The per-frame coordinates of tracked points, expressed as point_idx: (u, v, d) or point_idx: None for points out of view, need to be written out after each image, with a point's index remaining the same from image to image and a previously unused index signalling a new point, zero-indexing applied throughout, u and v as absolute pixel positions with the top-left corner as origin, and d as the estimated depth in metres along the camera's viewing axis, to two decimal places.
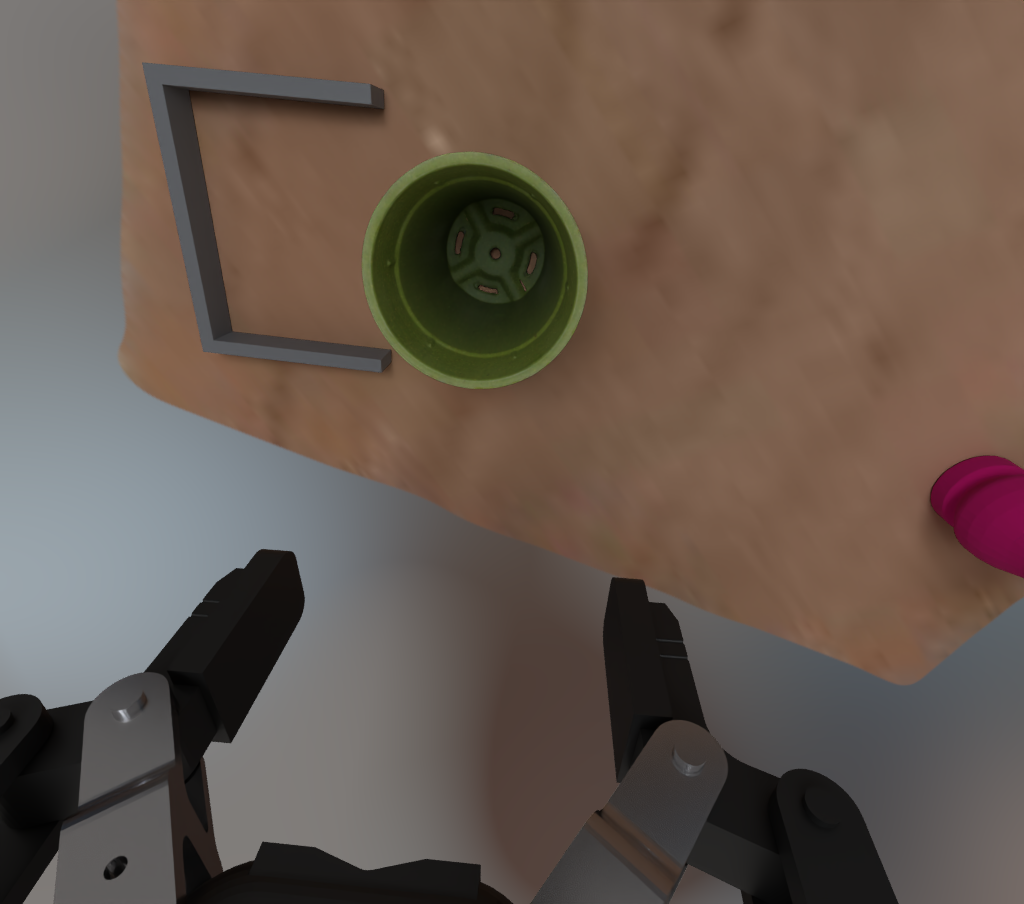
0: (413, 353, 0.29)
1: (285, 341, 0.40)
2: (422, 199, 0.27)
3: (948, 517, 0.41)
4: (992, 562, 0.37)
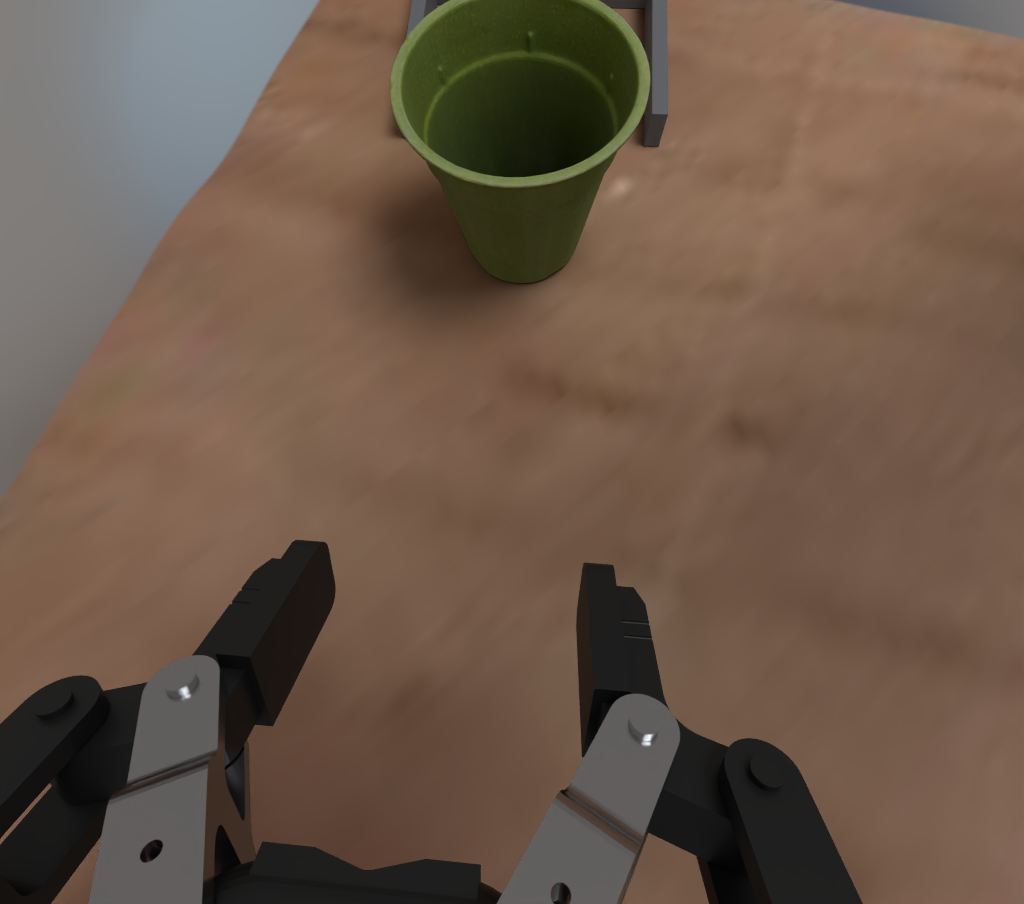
0: (434, 26, 0.24)
1: None
2: (592, 77, 0.26)
3: None
4: None
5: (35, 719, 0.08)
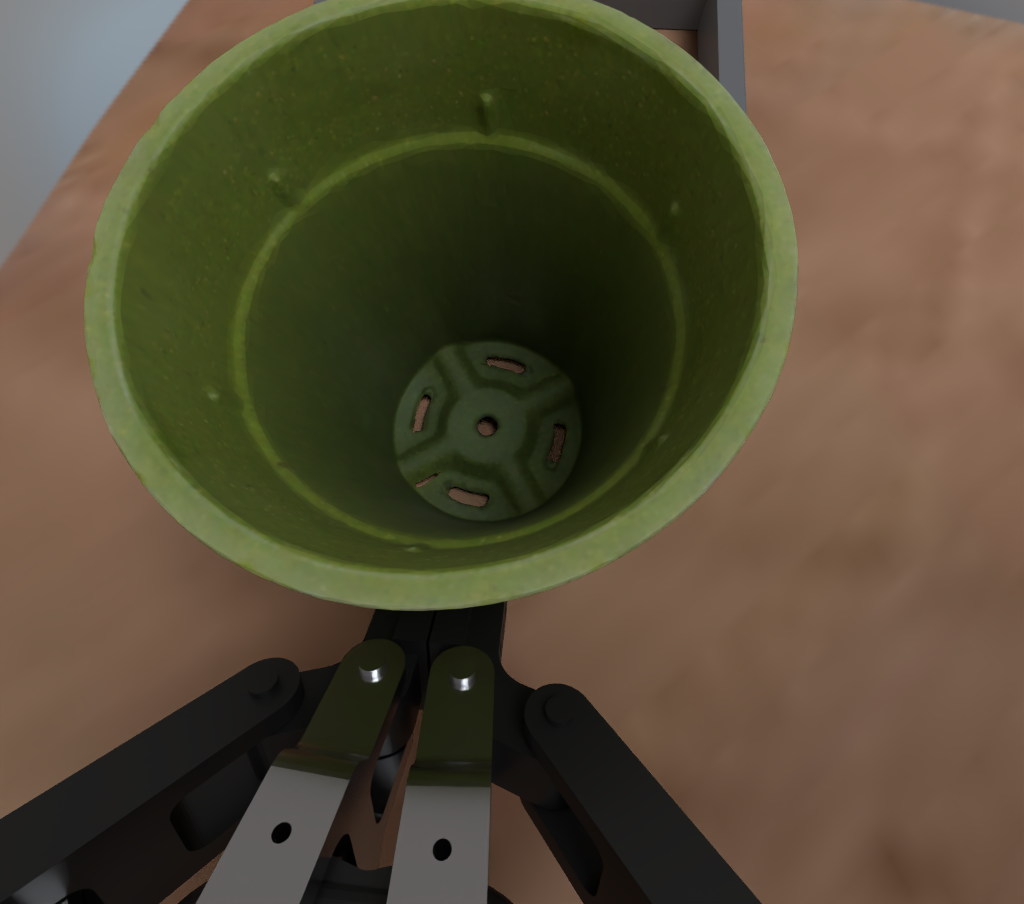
0: (236, 85, 0.10)
1: None
2: (625, 197, 0.12)
3: None
4: None
5: (245, 692, 0.09)
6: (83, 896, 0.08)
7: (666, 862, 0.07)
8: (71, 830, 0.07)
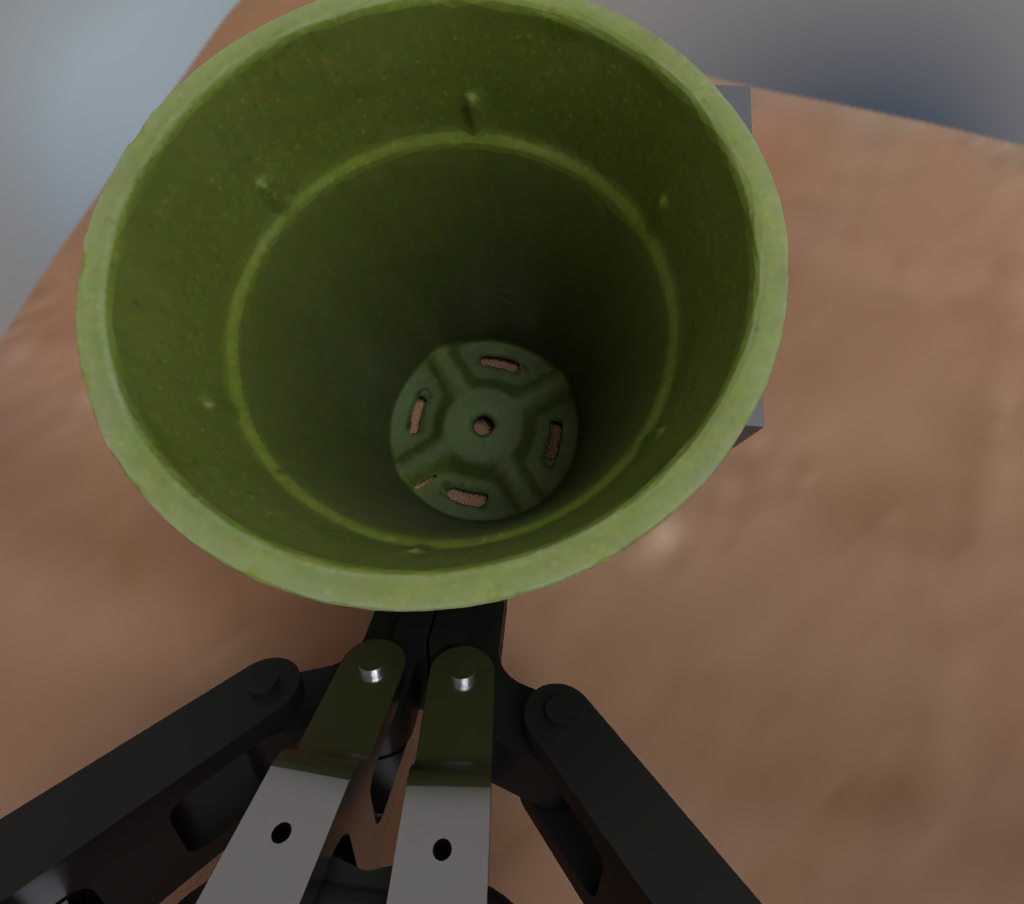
0: (221, 92, 0.10)
1: None
2: (613, 192, 0.12)
3: None
4: None
5: (245, 692, 0.09)
6: (83, 896, 0.08)
7: (666, 862, 0.07)
8: (71, 830, 0.07)
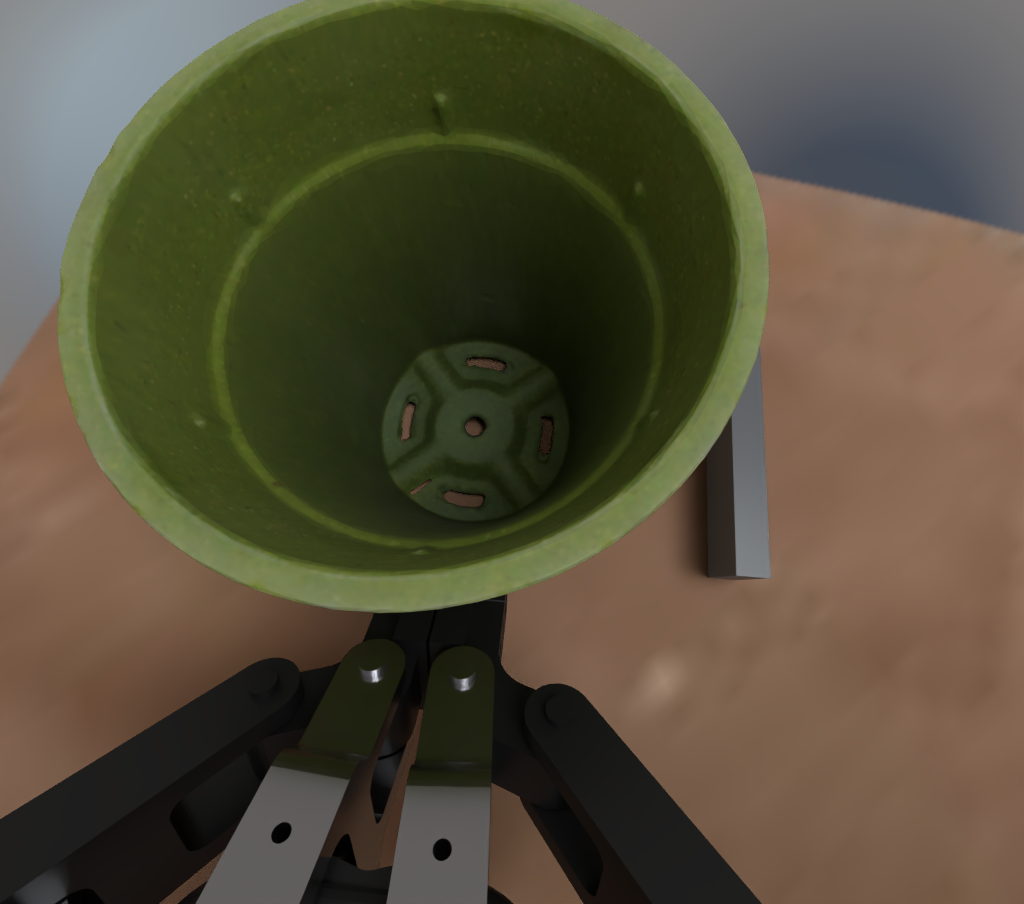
0: (188, 108, 0.10)
1: None
2: (588, 183, 0.12)
3: None
4: None
5: (245, 692, 0.09)
6: (83, 896, 0.08)
7: (666, 862, 0.07)
8: (71, 830, 0.07)
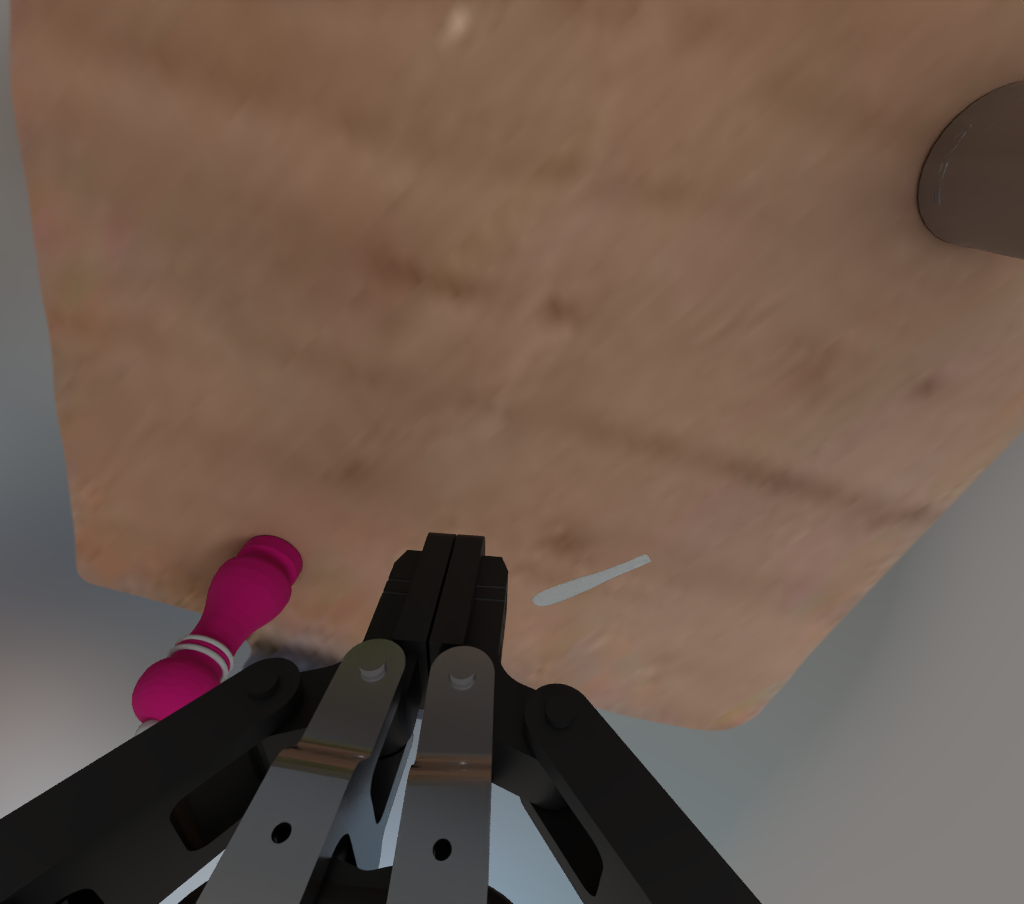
0: None
1: None
2: None
3: (242, 552, 0.52)
4: (210, 588, 0.48)
5: (245, 692, 0.09)
6: (83, 896, 0.08)
7: (666, 862, 0.07)
8: (71, 830, 0.07)
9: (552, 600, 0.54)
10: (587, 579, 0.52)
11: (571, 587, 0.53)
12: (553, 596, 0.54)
